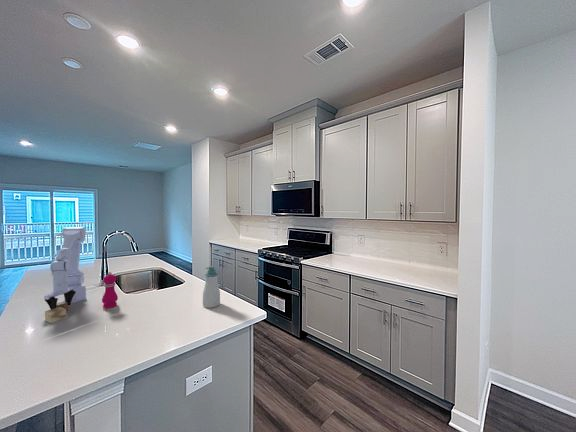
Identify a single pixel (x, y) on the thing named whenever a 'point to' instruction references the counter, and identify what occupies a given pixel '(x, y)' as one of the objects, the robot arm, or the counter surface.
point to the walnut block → (62, 305)
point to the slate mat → (53, 321)
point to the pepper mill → (109, 291)
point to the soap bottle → (211, 289)
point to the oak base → (55, 314)
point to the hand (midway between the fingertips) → (60, 307)
